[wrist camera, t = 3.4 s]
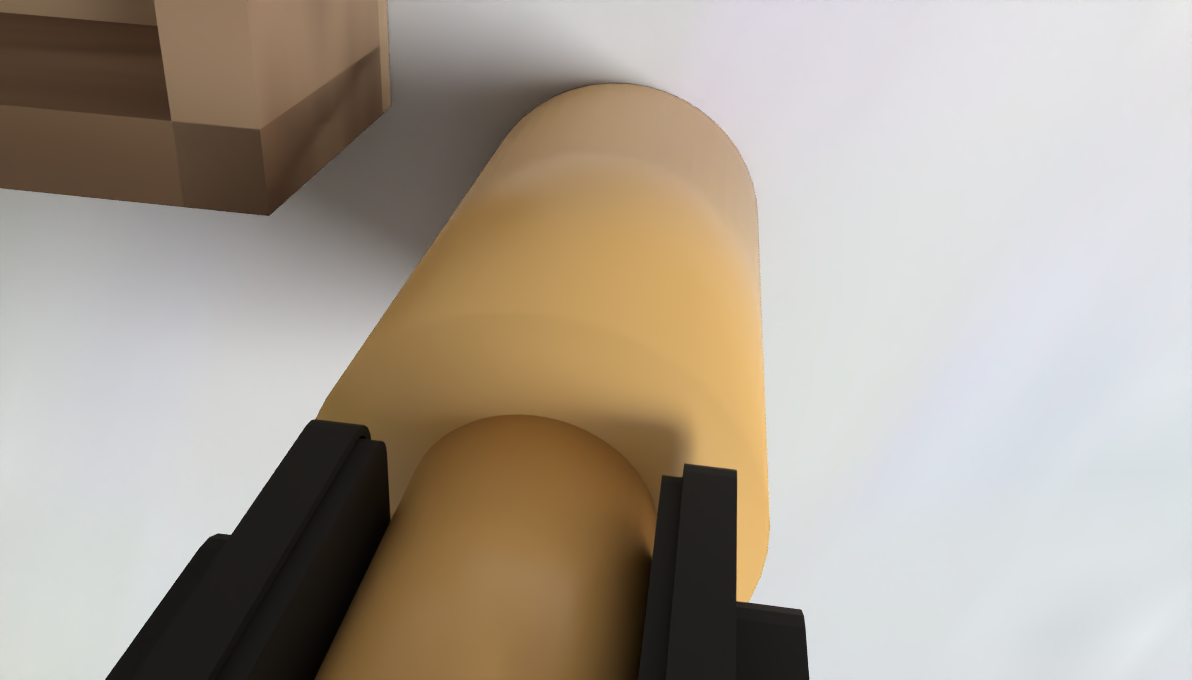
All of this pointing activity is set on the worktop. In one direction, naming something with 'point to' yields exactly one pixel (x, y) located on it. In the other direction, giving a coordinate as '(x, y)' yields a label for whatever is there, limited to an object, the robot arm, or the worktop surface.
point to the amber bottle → (559, 395)
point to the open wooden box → (186, 96)
